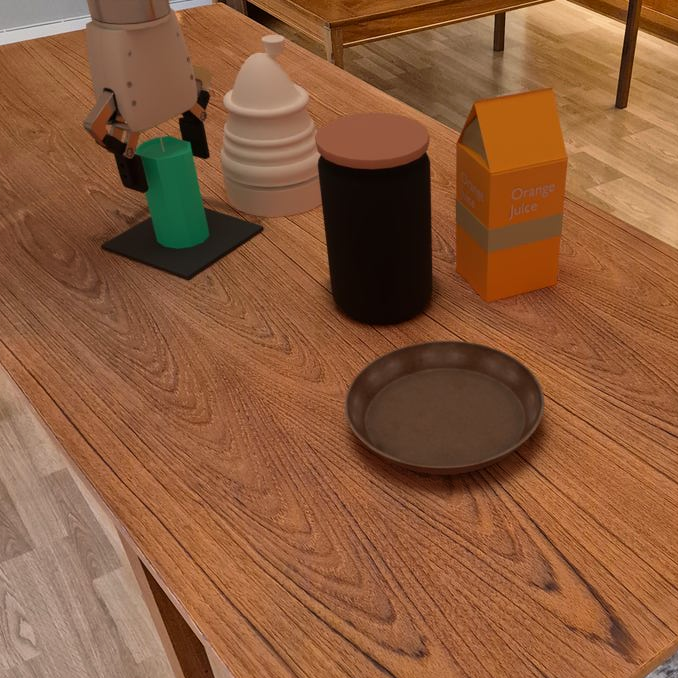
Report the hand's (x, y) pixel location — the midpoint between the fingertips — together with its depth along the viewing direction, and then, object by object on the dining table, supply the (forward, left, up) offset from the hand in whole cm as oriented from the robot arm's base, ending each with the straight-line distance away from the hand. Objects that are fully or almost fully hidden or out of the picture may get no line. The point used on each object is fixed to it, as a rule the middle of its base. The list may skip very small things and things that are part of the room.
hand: (168, 172), depth 98 cm
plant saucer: (+43, -13, -8) cm, 46 cm away
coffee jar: (+27, +1, -8) cm, 28 cm away
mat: (0, 0, -8) cm, 8 cm away
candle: (0, 0, -8) cm, 8 cm away
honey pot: (+2, +15, -8) cm, 17 cm away
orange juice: (+36, +12, -8) cm, 39 cm away
